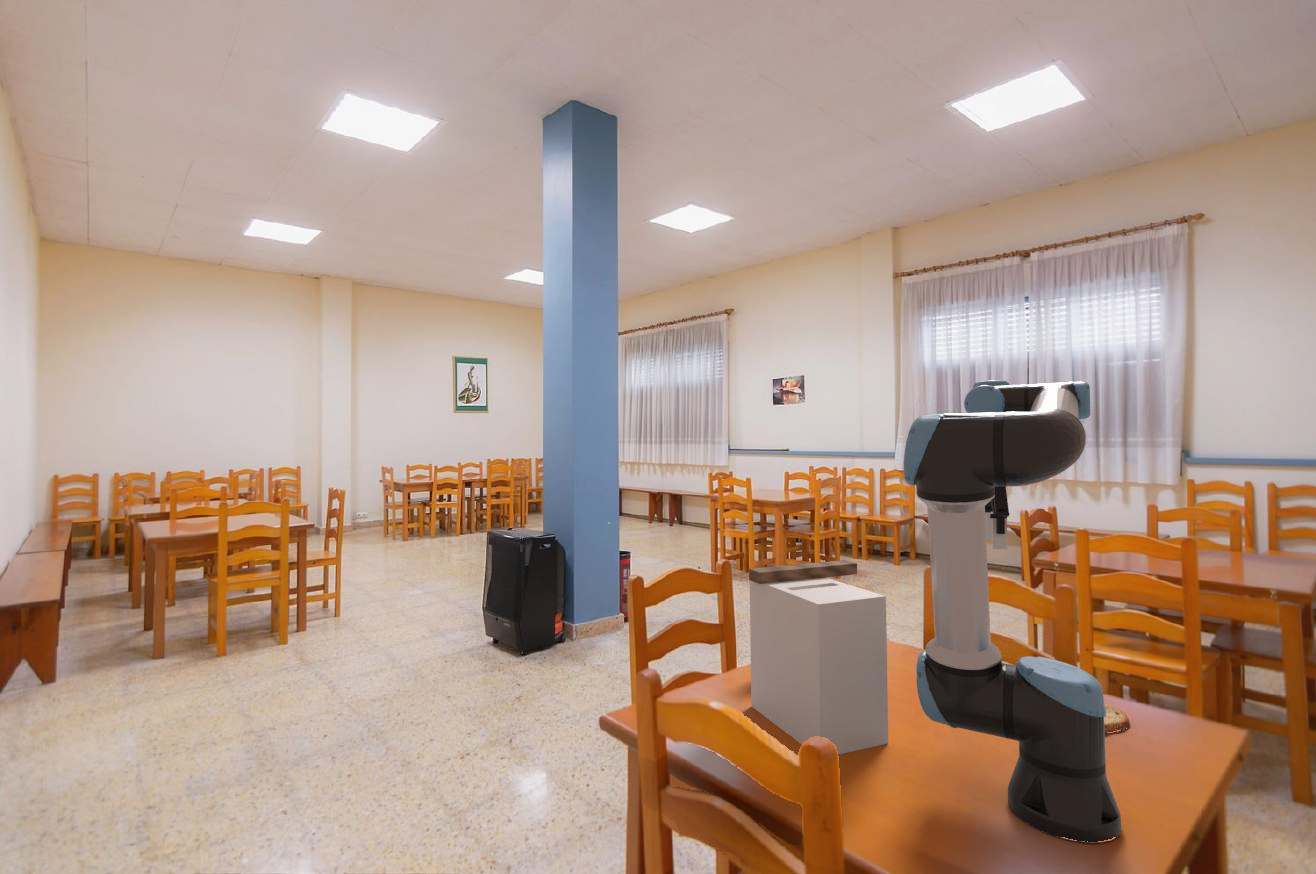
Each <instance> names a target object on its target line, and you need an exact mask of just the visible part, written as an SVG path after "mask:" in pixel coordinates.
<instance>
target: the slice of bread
mask: <svg viewBox="0 0 1316 874" xmlns="http://www.w3.org/2000/svg"><path fill="white" fill-rule="evenodd" d="M1104 707H1105V709H1106V716H1104V730H1105V734H1108V733H1107V732H1113V731H1117V730H1124V729H1126V728H1128V726H1129V725H1130V726H1131V723H1130V720H1129V717H1128V716H1127V714H1126V712H1124V711H1123V710H1121V709H1120V708H1118V707H1117V706H1114V705H1111V704H1110V703H1104ZM1130 726H1129V727H1130ZM1128 729H1129V728H1128ZM1126 730H1127V729H1126ZM1124 731H1125V730H1124Z"/></svg>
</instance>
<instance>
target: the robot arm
mask: <svg viewBox="0 0 1316 874" xmlns="http://www.w3.org/2000/svg"><path fill="white" fill-rule="evenodd" d="M1090 387H1091V386H1090V383H1088V382H1086V381H1072V380H1071V381H1069V380H1068V381H1067V380H1066V381H1063V382H1050V383H1049V382H1048V383H1034V384H1033V383H1032V384H1031V383H1030V384H1011V385H1010V383H1009V381H1007V380H1000V379H999V380H998V379H997V380H981V381H978V382H975V383H974V384H973V386H972V389H970V390H969V392H967V393H966V395H965V397H964V402H963V406H964V410H965V412H963V413H962V412H961V413H960V412H959V413H957V412H954V413H951V412H950V413H947V412H946V413H945V412H943V413H936V414H927V415H921V416H919V417H917V418H916V419H914V421H913V422H912V424H911V426H910V427H909V430H908V433H907V436H906V437H907V438H906V441H905V445H904V446H905V447H904V448H905V449H904V455H903V467H902V468H903V475H904V482H906V484H908V485H911V486H912V487H913V486H915V485H916V486H915V487H916V496H917V498H918V499H919V500H920V501H921V502H922V503H923V504H925V506H926V507H927V523H928V525H927V526H928V541H929V559H930V575H931V576H930V577H931V591H932V592H931V593H932V594H931V595H932V610H933V611H932V612H933V626H934V638H932V639H930V640H929V641H928V642H927V644H926V646H925V650H922V651H921V652H920V653H919V654H918V657H917V662H916V670H915V672H916V678H915V679H916V689H917V695H918V700H919V703H920V706H921V709H922V711H923V713H924V714H925V715H926V716H927V718H929V720H931V721H933V722H935V723H938V724H942V725H947V726H949V727H950V728H953V729H963V730H968V731H973V732H975V733H981V734H986V735H990V736H995V737H999V738H1004V739H1008V740H1013V741H1018V750H1019V751H1018V759H1017V761H1016V763H1015V766H1014V769H1013V771H1012V774H1011V778H1010V780H1009V783H1008V785H1007V804H1008V807H1009V808H1010V810H1011V811H1012V813H1014V814H1015V815H1016V817H1018V818H1019V819H1020V820H1021V819H1022V820H1021V821H1023V822H1024V823H1026V824H1027V823H1028V824H1027V825H1029V826H1030V825H1031V827H1032V826H1033V828H1034V829H1036V830H1038V831H1041V832H1042V831H1043V833H1045V834H1047V835H1051V836H1053V837H1056V836H1058V837H1057V838H1059V837H1065V838H1068V839H1073V840H1077V841H1085V842H1087V841H1088V842H1098V841H1104V840H1108V839H1112V838H1113V837H1117V836H1118V835H1119V834H1120V832H1121V833H1122V818H1121V817H1122V815H1121V811H1120V809H1119V806H1118V804H1117V801H1116V798H1115V796H1114V793H1113V790H1112V788H1111V785H1110V783H1109V780H1108V777H1107V772H1106V771H1107V770H1106V769H1107V767H1106V764H1107V763H1106V761H1107V760H1106V736H1105V735H1106V733H1105V730H1104V716H1106V709H1105V707H1104V704H1105V699H1104V689H1103V687H1102V684H1101V683H1100V682H1099V680H1098V679H1096V677H1095V676H1093V675H1091V674H1090V673H1089V672H1087V671H1085V670H1083V669H1081V668H1080V667H1078V666H1075V665H1072V664H1070V663H1067V662H1064V661H1060V660H1058V659H1057V660H1056V659H1053V658H1049V657H1042V656H1030V655H1028V656H1021V657H1020V658H1018V660H1017V662H1016V663H1015V664H1010V663H1004V662H1003V659H1002V658H1003V657H1002V652H1001V650H1000V649H999V647H998V646H996V645H995V644H994V643H993V642H992V641H991V639H992V638H991V619H990V616H991V615H990V596H989V595H990V594H989V573H988V572H989V570H988V569H989V568H988V550H987V541H991V542H992V549H993V550H1008V517H1009V516H1010V512H1009V504H1008V503H1009V502H1008V494H1007V493H1008V492H1007V487H1022V486H1023V487H1025V486H1030V485H1034V484H1039V483H1040V482H1044V481H1047V480H1049V479H1052V478H1053V477H1056V476H1058V475H1059V474H1061V473H1063V472H1065V471H1066V470H1068V469H1069V468H1070V467H1071V466H1073V465H1074V464H1075V463H1077V461H1078V460H1079V459H1080V457H1081V456H1082V454H1083V452H1084V450H1085V446H1086V440H1087V438H1086V437H1087V436H1086V430H1085V427H1084V425H1083V423H1082V422H1081V421H1080V420H1084V419H1088V418H1089V417H1090V416H1091V388H1090ZM1120 835H1121V834H1120ZM1120 835H1119V836H1120ZM1117 838H1118V837H1117Z"/></svg>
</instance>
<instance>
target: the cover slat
mask: <svg viewBox="0 0 1316 874" xmlns="http://www.w3.org/2000/svg"><path fill="white" fill-rule="evenodd" d="M852 575H858V563H857V562H854V561H849V560H846V559H841V560H831V561H822V562H821V561H820V562H810V563H800V564H789V565H787V564H786V565H776V566H765V567H756V568H754V567H753V568H749V569H748V577H749V578H748V580H749V582H750V581H753V582H756V583H758V584H766V583H776V582H785V581H795V580H805V579H815V578H832V577H833V578H834V577H844V576H852Z"/></svg>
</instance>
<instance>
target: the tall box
mask: <svg viewBox="0 0 1316 874" xmlns="http://www.w3.org/2000/svg"><path fill="white" fill-rule="evenodd" d="M749 614H750V615H749V620H750V621H749V625H750V627H749V629H750V630H749V632H750V633H749V634H750V638H749V639H750V700H751V702H750V703H751V705H750V706H751V708H752V709H754V710H755V711H757V712H758V713H759V714H761V715H762V716H763V717H764V718H766V719H767V720H769V721H770V723H771V722H772V723H773V724H774V725H775V726H777V727H778V728H780V730H782V731H783V732H785V733H786V734H787V735H788V736H790V737H791V738H792V739H794V740H795V741H797V742H798V743H799V744H800V745H802V743H803V742H805V741H806V740H808V739H809V738H810V737H814V736H820V737H825V738H828V739H829V740H830V741H831V742H832V743H833V744H835V745H836V747H837V751H838V753H839V755H838V756H840V755H843V754H848V753H852V752H856V751H857V752H858V751H860V750H864V749H870V748H873V747H878V746H882V745H888V744H889V709H888V707H889V706H888V705H889V704H888V703H889V701H888V700H889V699H888V698H889V696H888V695H889V694H888V693H889V692H888V645H887V644H888V642H887V640H888V638H887V636H888V633H887V596H886V595H883V594H880V593H877V592H873V591H870V590H867V589H864V588H861V587H858V586H855V585H851V584H848V583H846V582H845V583H844V582H841V581H838V580H835V579H832V578H830V577H825V578H815V579H805V580H795V581H785V582H776V583H766V584H758V583H756V582H753V581H750V580H749Z"/></svg>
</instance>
